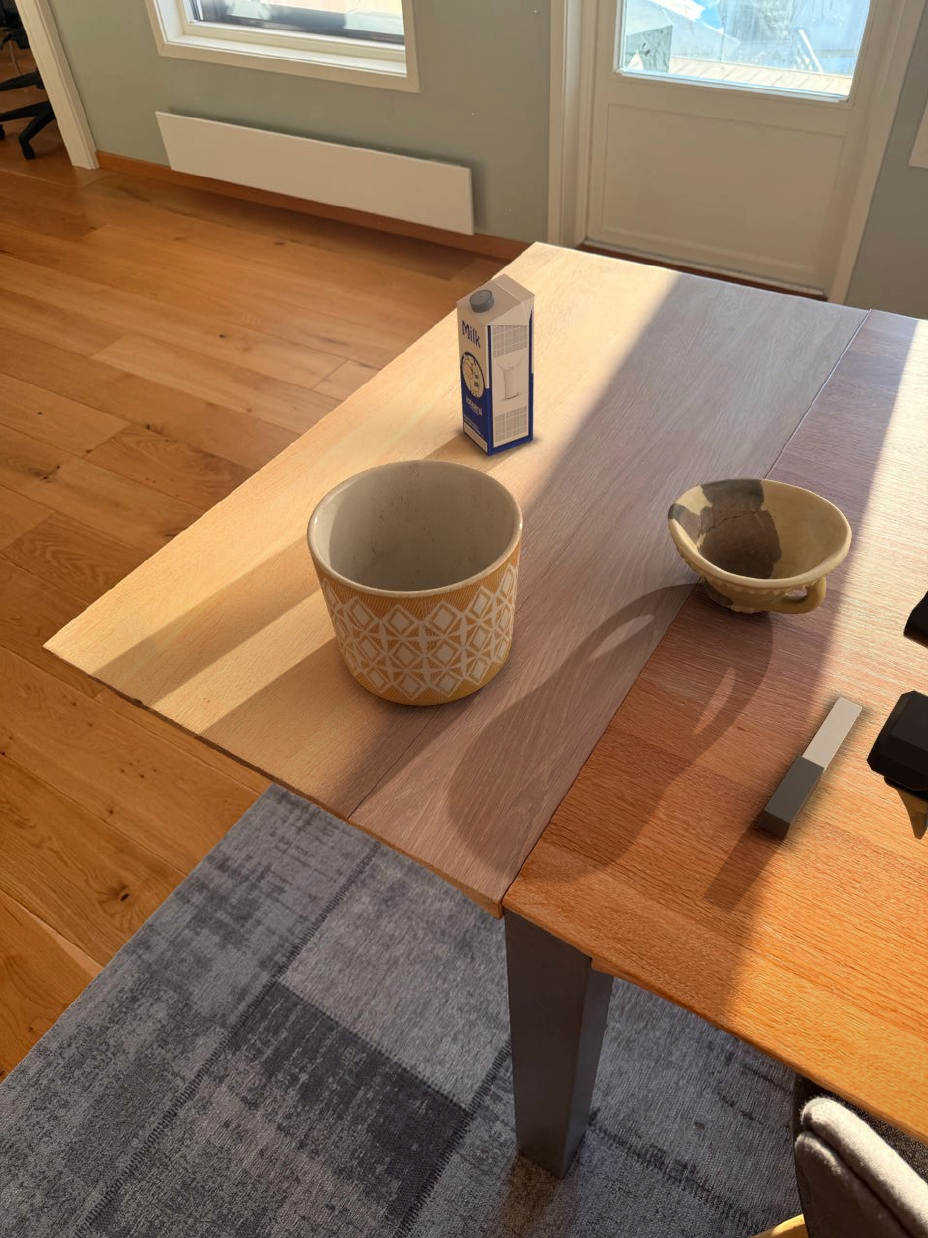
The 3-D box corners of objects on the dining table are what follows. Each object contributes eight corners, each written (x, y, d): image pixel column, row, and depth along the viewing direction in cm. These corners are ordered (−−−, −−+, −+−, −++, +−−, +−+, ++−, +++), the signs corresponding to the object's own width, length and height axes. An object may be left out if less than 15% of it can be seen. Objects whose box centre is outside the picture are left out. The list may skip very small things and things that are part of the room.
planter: (309, 710, 87) (277, 584, 76) (359, 576, 101) (339, 452, 89) (508, 732, 84) (506, 605, 73) (532, 591, 98) (534, 465, 86)
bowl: (863, 591, 96) (889, 520, 89) (761, 680, 88) (781, 609, 81) (725, 517, 105) (739, 447, 98) (622, 591, 97) (630, 521, 90)
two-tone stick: (784, 840, 75) (790, 824, 73) (757, 825, 76) (762, 809, 75) (862, 711, 84) (869, 695, 83) (836, 700, 85) (843, 683, 84)
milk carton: (533, 440, 118) (535, 293, 104) (489, 456, 116) (484, 308, 102) (505, 415, 123) (503, 271, 108) (462, 430, 120) (454, 285, 106)
